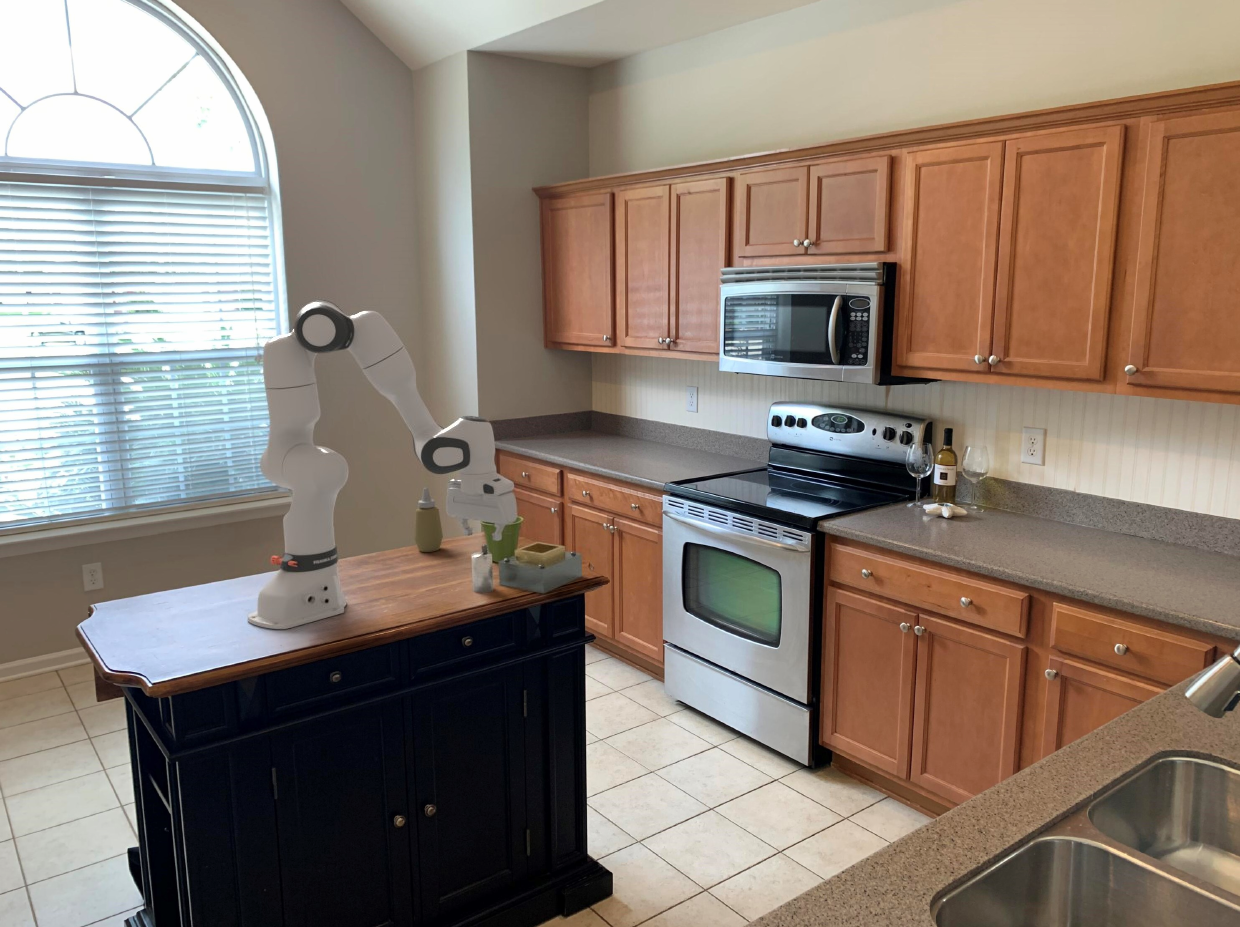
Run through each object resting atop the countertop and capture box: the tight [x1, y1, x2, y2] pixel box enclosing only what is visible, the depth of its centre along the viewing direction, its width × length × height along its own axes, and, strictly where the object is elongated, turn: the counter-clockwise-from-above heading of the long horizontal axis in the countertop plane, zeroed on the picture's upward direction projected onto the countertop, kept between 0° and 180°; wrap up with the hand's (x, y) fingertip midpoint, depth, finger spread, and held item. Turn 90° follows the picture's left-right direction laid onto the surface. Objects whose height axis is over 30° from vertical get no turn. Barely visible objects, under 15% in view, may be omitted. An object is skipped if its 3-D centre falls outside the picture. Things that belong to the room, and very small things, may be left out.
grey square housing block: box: [498, 541, 583, 594], centre depth 241 cm, size 16×14×8 cm
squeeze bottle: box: [413, 487, 444, 553], centre depth 270 cm, size 8×8×18 cm
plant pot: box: [479, 515, 524, 564], centre depth 260 cm, size 12×12×11 cm
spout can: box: [470, 544, 494, 594], centre depth 234 cm, size 5×5×11 cm
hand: (482, 537), depth 233 cm, fingers open, 8 cm apart
